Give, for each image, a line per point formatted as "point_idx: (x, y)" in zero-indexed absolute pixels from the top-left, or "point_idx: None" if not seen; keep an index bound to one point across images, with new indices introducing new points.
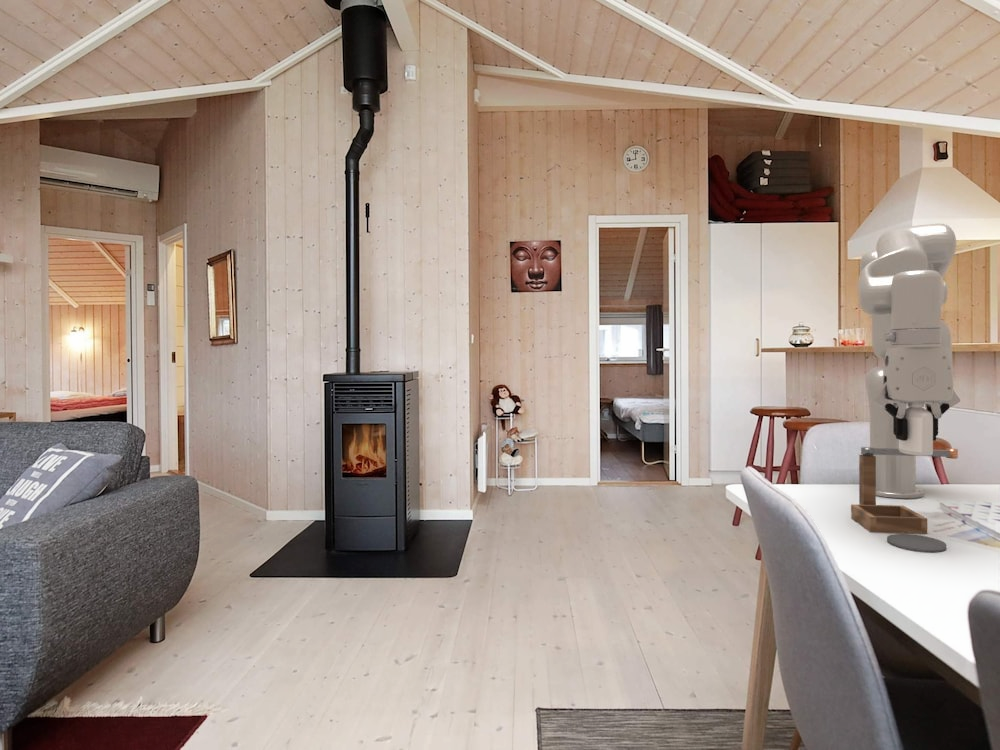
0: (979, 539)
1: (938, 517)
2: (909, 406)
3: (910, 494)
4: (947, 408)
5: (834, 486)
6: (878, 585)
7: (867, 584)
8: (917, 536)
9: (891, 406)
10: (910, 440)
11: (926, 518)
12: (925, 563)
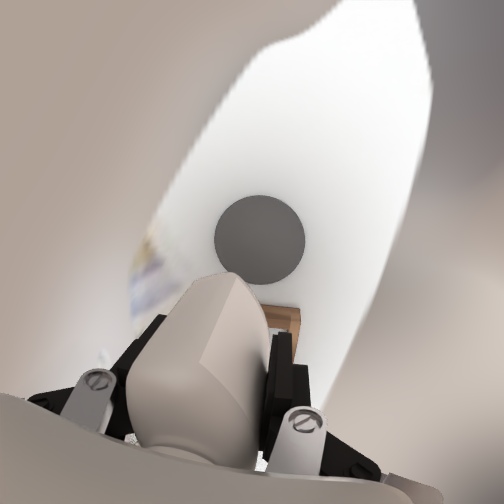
0: (144, 268)
1: None
2: None
3: None
4: (39, 396)
5: None
6: (412, 60)
7: (424, 65)
8: (241, 269)
9: (357, 473)
10: (257, 333)
11: None
12: (301, 139)
